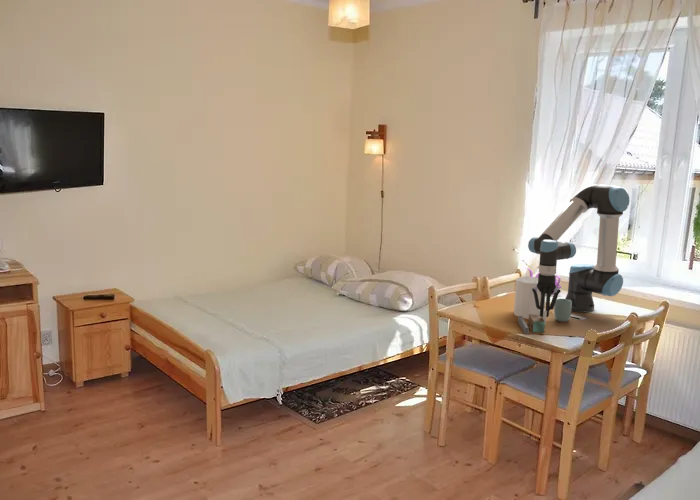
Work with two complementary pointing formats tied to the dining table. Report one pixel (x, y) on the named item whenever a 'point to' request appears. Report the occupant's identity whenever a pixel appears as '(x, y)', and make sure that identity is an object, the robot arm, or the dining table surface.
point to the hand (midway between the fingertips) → (543, 323)
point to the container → (526, 297)
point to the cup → (562, 309)
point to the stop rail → (523, 325)
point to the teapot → (555, 279)
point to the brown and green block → (536, 323)
